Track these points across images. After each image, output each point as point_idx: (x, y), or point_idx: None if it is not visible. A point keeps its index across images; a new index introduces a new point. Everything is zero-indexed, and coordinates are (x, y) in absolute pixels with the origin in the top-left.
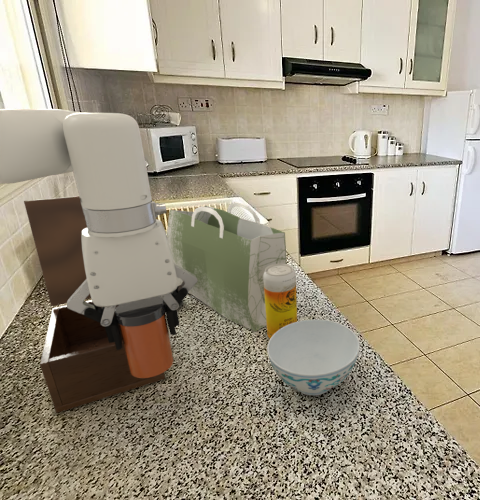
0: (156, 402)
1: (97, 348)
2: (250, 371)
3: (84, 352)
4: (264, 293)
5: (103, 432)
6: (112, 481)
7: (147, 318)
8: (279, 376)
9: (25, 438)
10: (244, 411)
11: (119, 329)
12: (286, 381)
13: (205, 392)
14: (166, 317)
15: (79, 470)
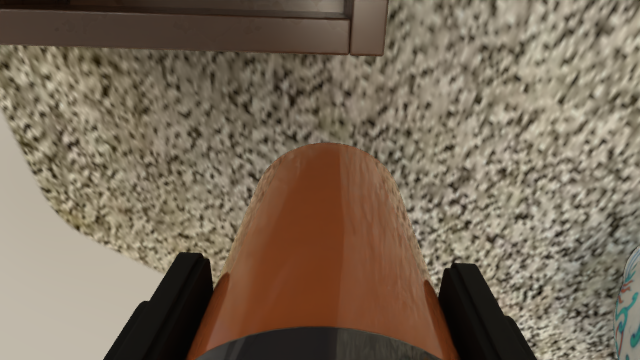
0: (320, 128)
1: (105, 38)
2: (585, 142)
3: (51, 41)
4: None
5: (200, 164)
6: None
7: None
8: (618, 338)
9: (27, 87)
10: (486, 261)
11: (189, 312)
12: (617, 355)
13: (440, 158)
14: (463, 310)
15: (169, 237)
